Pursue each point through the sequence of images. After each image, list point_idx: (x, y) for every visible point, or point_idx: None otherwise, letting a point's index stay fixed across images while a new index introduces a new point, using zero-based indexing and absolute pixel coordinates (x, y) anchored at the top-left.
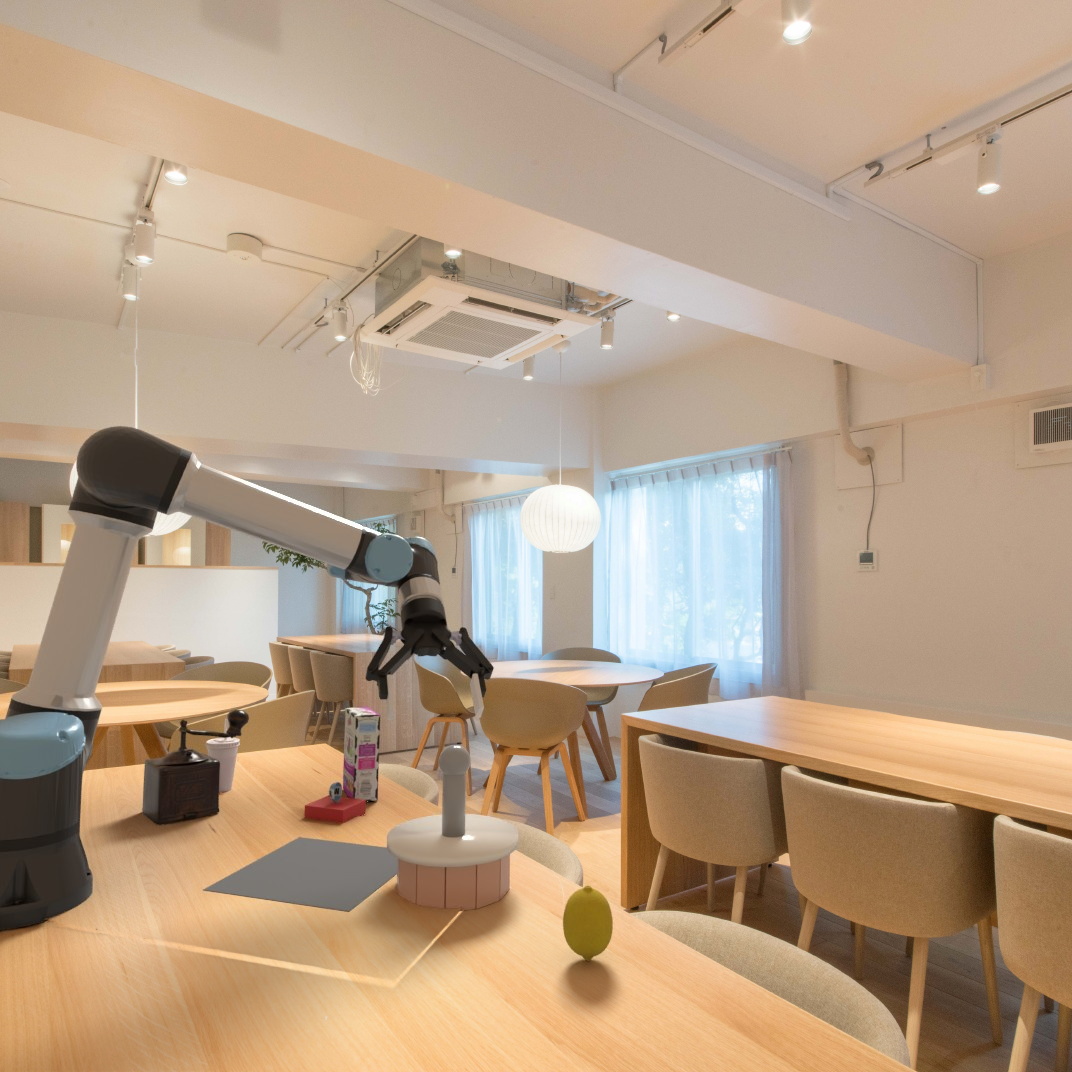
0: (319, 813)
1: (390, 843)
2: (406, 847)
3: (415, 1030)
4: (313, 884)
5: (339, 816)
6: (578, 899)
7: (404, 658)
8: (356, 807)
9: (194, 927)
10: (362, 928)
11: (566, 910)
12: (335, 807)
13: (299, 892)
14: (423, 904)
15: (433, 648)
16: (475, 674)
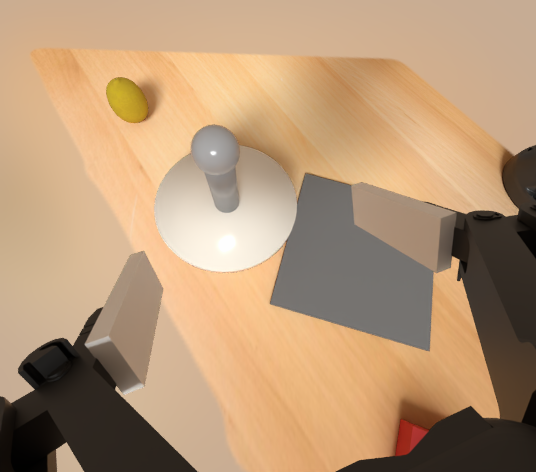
0: None
1: (287, 174)
2: (269, 165)
3: (237, 70)
4: (352, 219)
5: (413, 425)
6: (127, 79)
7: (496, 341)
8: None
9: (403, 159)
10: (289, 158)
11: (139, 90)
12: None
13: None
14: None
15: (363, 462)
16: (98, 335)
